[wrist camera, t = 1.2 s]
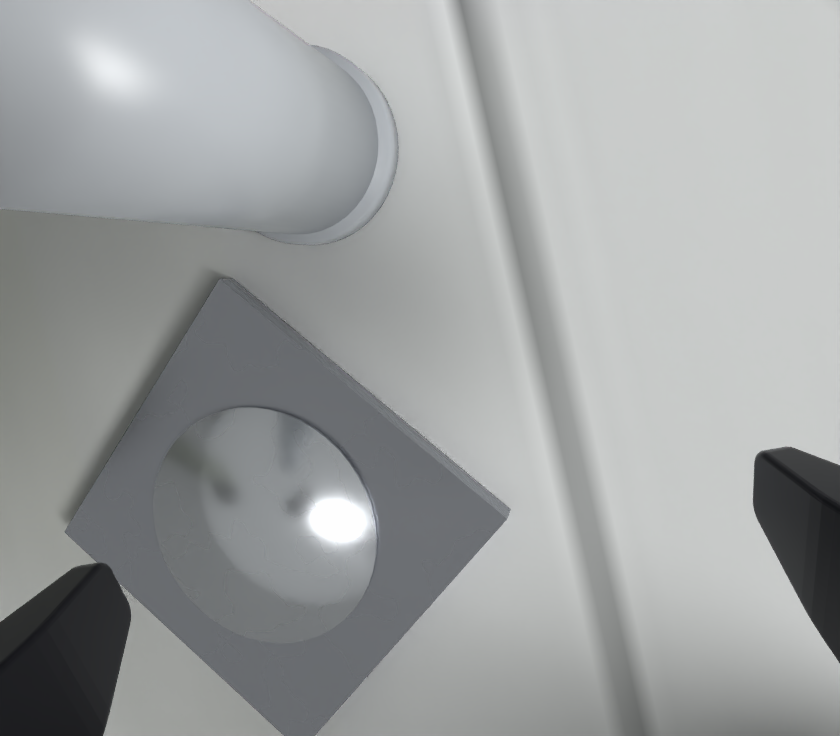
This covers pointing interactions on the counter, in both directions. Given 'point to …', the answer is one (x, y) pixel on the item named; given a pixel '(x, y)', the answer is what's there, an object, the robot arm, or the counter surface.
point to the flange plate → (279, 514)
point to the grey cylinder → (188, 119)
